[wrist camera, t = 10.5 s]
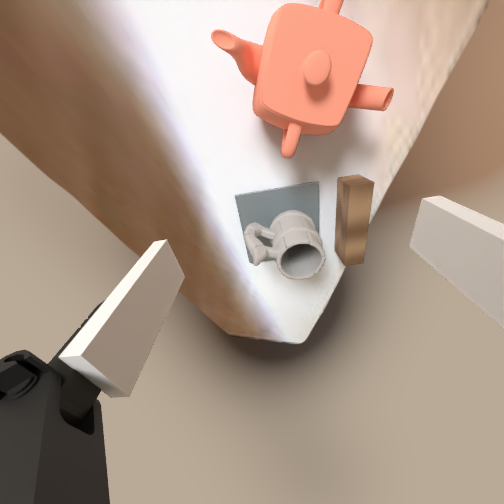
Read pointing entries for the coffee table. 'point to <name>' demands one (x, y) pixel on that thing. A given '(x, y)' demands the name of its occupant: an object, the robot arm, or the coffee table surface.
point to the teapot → (306, 70)
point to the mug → (288, 244)
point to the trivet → (277, 207)
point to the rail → (352, 218)
